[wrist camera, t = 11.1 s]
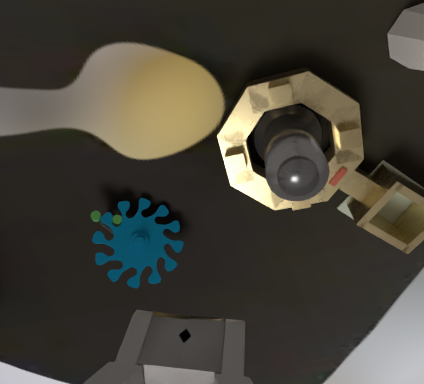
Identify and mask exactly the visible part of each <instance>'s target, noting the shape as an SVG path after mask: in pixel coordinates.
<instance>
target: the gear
mask: <svg viewBox="0 0 424 384" xmlns="http://www.w3.org/2000/svg"><path fill="white" fill-rule="evenodd" d="M138 204H139V208H138V212H137V213H136V215H135V216H134V217H133V218H127V217H126V212H127V211H128V209H129V207H130V203H129V202H128V201H122V202H119V203H118V209H119V210H120V212H121V215H122V217H121V216H120V215H115V216H113V215H112V214H111V213H110V212H105V213H103V214H102V215H101V214H100V212H98V211H93V212H92V213H91V218H92V220H93V221H95V222H97V221H100V224H101V225H102V226H103V227H105V228H106V229H107V230H109V231H110V232H111V233H113V234H114V238H113V239H112V240H111V241H108V240H106V239H105V237H104V235H103V233H102V232H100V231H97V232H96V233H95V234H94V236H93V239H92V241H93V242H94V243H96V244H106V245H109V246H110V247H112V248H113V249H114V251H115V253H114V255H113V256H111V257H108V256H106V255H105V254H104V253H97V254H96V264H97V265H102V264H104V263H105V262H107V261H110V260H119V261H121V262H122V263H123V267H122V268H121V269H120V270H110V271H109V272H108V273H107V274H108V276H109V278H110V279H111V280H112V281H113V282H115V281H117V280H118V279H119V277H120V275H121V274H122V273H123V272H124V271H125V270H127V269H129V268H131V267H134V268H136V269H137V274H136V275H135V276H133V277H131V278H130V279H129V280H128V281H127V285H129V286H130V287H133V288H138V287H139V285H140V275H141V272H142V271H143V269H144V268H145V267H146V266H150V267H152V273H151V275H150V276H149V278H148V281H149V283H150V284H155V283H159V282H161V277H160V275H159V274H158V272H157V267H156V266H157V259H158V258H159V257H163V258H164V259H165V269H166V270H167V271H172V270H173V269H174V268H175V267H176V266H177V263H176V261H174V260H172V259H170V258H169V257H168V256H167V254H166V252H165V250H164V245H165V244H170V245H171V246H172V249H173V250H174V251H175V252H180V251H181V250H182V248H183V244H184V243H183V242H182V241H173V240H170V239H168V238H167V237H165V236H164V235H163V230H164V229H169V230H170V231H172V232H174V233H176V232H178V231H180V225H179V221H173V222H172V223H170V224H167V225H160V224H156V222H155V218H156V217H165V216H167V214H168V213H169V212H168V210H167V208H166V207H165V206H164V205H161V206H159V208H158V209H157V211H156V213H155V214H153V215H152V216H149V217H147V218H145V217H143V216H142V215H141V212H142V211H143V210H145V209H147V208H148V207H149V206H150V201H149V200H147V199H144V198H141V199H140V200H139V203H138Z"/></svg>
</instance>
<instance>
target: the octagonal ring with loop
mask: <svg viewBox="0 0 424 384" xmlns="http://www.w3.org/2000/svg"><path fill="white" fill-rule="evenodd" d="M298 103H303V104H304V105H306V106H307V107H309V108H311V109H312V110H314V111H315V112H317V113H319V114H320V115H322V116H323V117H325V118H327V123H328V130H329V138H330V147H329V148H328V149H327V150H326V152H325V153H324V155H325V158H326V160H327V162H328V165H329V178H328V181H327V183H326V185H325V187H324V188H323V189H322V190H321V191H320V192H319V193H318V194H317V195H315V196H314V197H312V198H310V199H307V200H303V201H288V200H284V199H282V198H280V197H278V196H277V195H275V194H274V193H273V192H272V191H271V189H270V188H269V186H268V184H267V180H266V172H265V169H264V168H262V167H261V166H259V165H257V164H256V163H254V162H252V157H251V153H250V149H249V145H248V141H247V137H248V136H249V134H250V133H251V131H252V130H253V128H254V127H255V125H256V124H257V122H258V121H259V119H260V118H261V116H262V114H263V113H264V111H268V110H272V109H277V108H281V107H285V106H289V105H293V104H298ZM217 138H218V141H219V145H220V149H221V152H222V156H223V159H224V163H225V167H226V170H227V174H228V178H229V181H230V185H231V186H232V187H234V188H236V189H238V190H240V191H241V192H243V193H245V194H247V195H248V196H250V197H252V198H254V199H256V200H257V201H259V202H261V203H263V204H265V205H266V206H268V207H270V208H272V209H273V210H279V209H285V208H290V207H292V209H293V210H297V209H303V208H308V207H311V204H313V203H318V202H324V201H328V200H329V199H330V198H331V196H332V195H333V194H334V193H335V192H336V191H337V190H338V189H340V190H341V191H343V192H345V193H346V194H348V195H350V196H352V198H351V199H350V200H349V201H348V202H347V203H346V204H347V206H348V208H349V210H350V212H351V214H352V216H353V219H354V221H355V223H356V224H357V225H358V226H360V227H362V228H364V229H365V230H367V231H369V232H370V233H372V234H374V235H376V236H377V237H379V238H381V239H383V240H384V241H386V242H388V243H390V244H391V245H393V246H395V247H396V248H398V249H400V250H402V251H403V252H405V253H407V254H409V253H410V252H411V251H412V250H413V249H414V248H415V247H416V246H418V245H419V244H420V243H421V242H422V241H423V240H424V189H423V188H421V187H420V186H418V185H416V184H415V183H413V182H412V181H410V180H408V179H407V178H405V177H404V176H402V175H400V174H399V173H397V172H396V171H394V170H392V169H391V168H389V167H387V166H386V165H384V164H383V163H382V164H381V166H380V167H379V168H378V169H377V170H376V171H375V172H374V173H373V174H372V175H369V174H368V173H366V172H365V171H363V170H361V169H360V168H358V165H359V164H360V163H361V162H362V161H363V160H364V153H363V141H362V130H361V119H360V108H359V103H358V102H357V101H356V100H355V99H354V98H353V97H351V96H350V95H348V94H346V93H345V92H343V91H342V90H340V89H339V88H337V87H336V86H334V85H332V84H331V83H329V82H328V81H326V80H325V79H323V78H322V77H320V76H319V75H317V74H315V73H314V72H312V71H311V70H309V69H308V68H306V67H302V68H299V69H295V70H291V71H287V72H283V73H279V74H275V75H272V76H268V77H264V78H260V79H256V80H252V81H248V82H247V84H246V85H245V87H244V89H243V90H242V92H241V93H240V95H239V97H238V98H237V100H236V102H235V103H234V105H233V107H232V108H231V110H230V112H229V113H228V115H227V116H226V118H225V120H224V121H223V123H222V125H221V126H220V128H219V131H218V135H217ZM397 192H398V193H400V194H402V195H403V196H405V197H407V198H408V199H410V200H412V201H413V202H414V203H413V204H412V205H411V206H410V207H409V208H408V209H407V210H406V211H405V212H404V213H403V214H402V215H401V216H399V217H398V218H397V219H396V220H395V221H394V222H391V221H389V220H388V219H386V218H384V217H383V216H381V215H379V214H378V212H379V211H380V210H381V209H382V207H383V206H384V205H385V204H386V203H387V202H388V201H389V200H390V199H391V198H392V197H393V196H394V195H395V194H396V193H397Z"/></svg>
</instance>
